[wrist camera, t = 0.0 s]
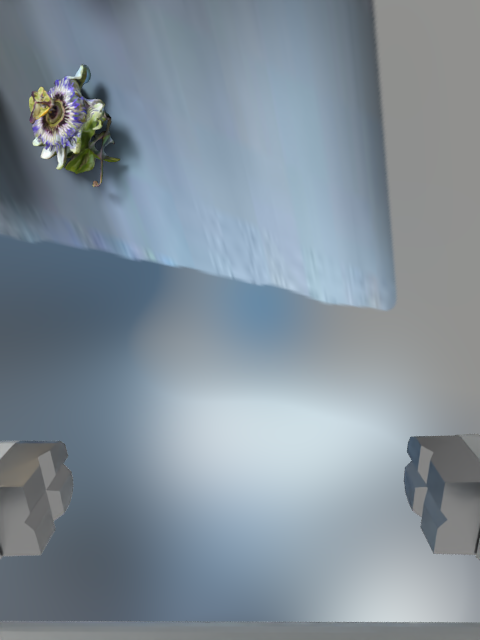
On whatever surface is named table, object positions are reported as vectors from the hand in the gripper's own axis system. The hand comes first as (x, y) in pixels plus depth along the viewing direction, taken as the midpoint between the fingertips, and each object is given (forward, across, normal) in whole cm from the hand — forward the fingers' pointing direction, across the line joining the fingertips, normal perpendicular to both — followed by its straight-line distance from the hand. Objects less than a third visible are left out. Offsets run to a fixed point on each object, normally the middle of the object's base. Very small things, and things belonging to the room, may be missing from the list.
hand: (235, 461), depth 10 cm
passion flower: (+50, +21, -14) cm, 56 cm away
